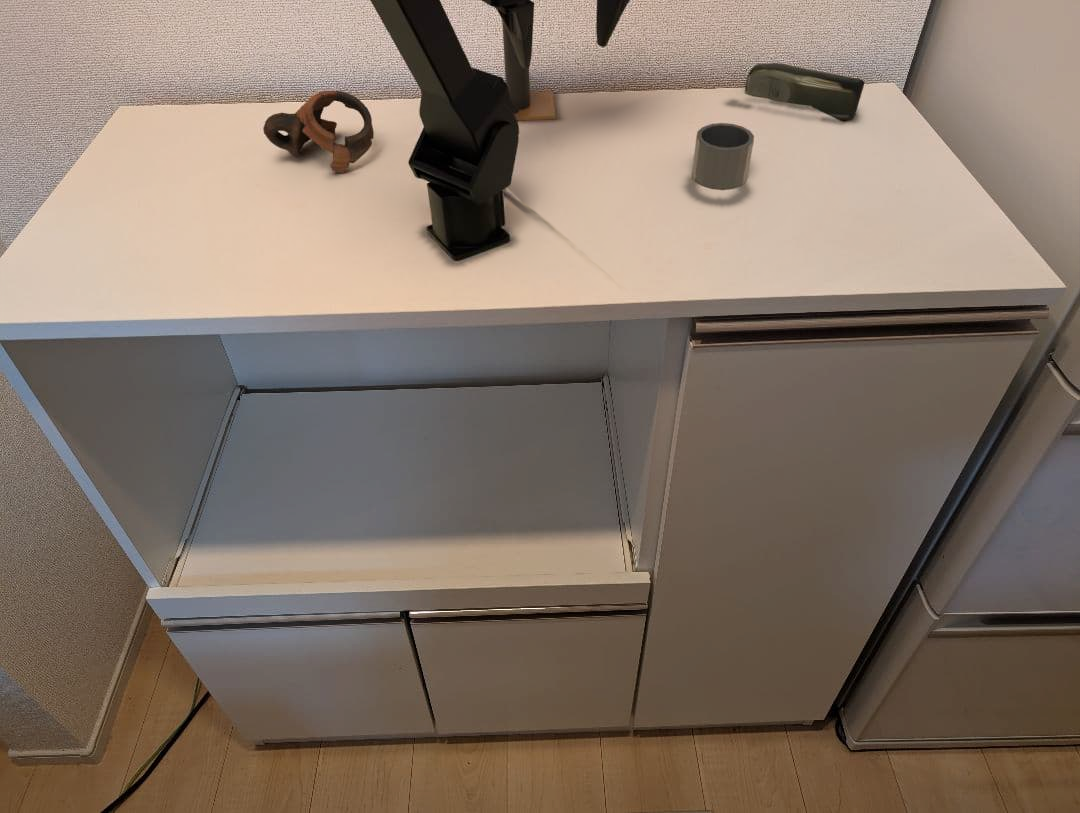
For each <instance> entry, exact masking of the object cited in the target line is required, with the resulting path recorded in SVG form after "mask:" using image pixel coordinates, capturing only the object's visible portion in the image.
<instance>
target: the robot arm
mask: <svg viewBox="0 0 1080 813" xmlns="http://www.w3.org/2000/svg"><path fill="white" fill-rule="evenodd" d="M369 1H370V3H371V5H372V6H373V8H374V10H375V11H376V13H377V15H378V17H379V18H380V20H381V22H382V24H383V26H384V27H385V29H386V31H387V32H388V35H389V36H390V38H391V40H392V42H393V43H394V45H395V47H396V49H397V50H398V53H399V54H400V55H401V58H402V59H403V61H404V63H405V64H406V67H407V68H408V70H409V71H410V73H411V75H412V77H413V79H414V81H415V83H416V84H417V86H418V88H419V90H420V92H421V93H420V102H419V108H418V113H419V118H420V121H421V123H422V125H423V128H422V130H421V132H420V134H419V137H418V139H417V141H416V143H415V146H414V148H413V150H412V152H411V155H410V157H409V159H408V162H407V164H408V166H409V168H410V170H411V171H412V174H413V175H414V177H415V178H417V179H419V180H420V179H421V180H423V181H426V182H427V183H426V188H427V195H428V203H429V209H430V218H431V224H429V225H427V226H426V233H427V234H428V235H429V236H431V238H432V239H433V240H434V241H435V242H436V243H437V244H438V245H439V246H440V247H441V249H443V250H444V252H445V253H446V254H447V255H448V256H449V257H450V258H451V259H453V260H454V261H457V260H458V261H459V260H461V259H464V258H467V257H469V256H472V255H475V254H478V253H480V252H483V251H486V250H488V249H491V248H494V247H496V246H499V245H502V244H504V243H507V242H509V241H511V234H510V233H509V232H508V231H507V230H506V229H504V228H503V227H505V225H506V212H505V211H506V210H505V195H504V193H505V192H504V190H506V189H507V188H508V187H511V185H512V179H513V175H514V168H515V163H516V157H517V153H518V146H519V141H520V140H519V138H520V125H519V122H518V120H517V118H516V116H515V114H516V113H518V112H519V109H518V108H517V107H516V106H515V105H514V104H513V102H512V100H511V98H510V94H509V90H508V87H507V84H506V81H505V80H504V78H503V77H502V76H499V75H496V74H493V73H490V72H488V71H484V70H482V69H478V68H475V67H472V65H471V63H470V61H469V59H468V57H467V55H466V53H465V50H464V48H463V46H462V44H461V41H459V38H458V36H457V34H456V31H455V29H454V27H453V25H452V22H451V21H450V19H449V17H448V14H447V12H446V9H445V8H444V6H443V4H442V2H441V0H369ZM480 1H482V2H483V3H484V4H486V5H489V6H490V7H493V8H494V9H496V11H497V13H498V15H499V17H500V18H501V21H502V20H503V22H504V24H505V26H506V29H507V31H508V34H509V36H510V39H511V42H512V44H513V47H514V49H515V52H516V54H517V57H518V59H519V62H520V64H521V66H522V67H524V68H525V69H528V68H529V69H530V66H531V61H532V56H533V40H534V39H533V37H534V36H533V35H534V18H535V15H534V14H535V1H532V0H480ZM630 2H631V0H596V17H595V18H596V19H595V32H596V43H597V45H598V46H599V47H601V48H606V46H607V45H608V44H609V41H610V39H611V37H612V35H613V33H614V31H615V29H616V27H617V26H618V23H619V21H620V20H621V17H622V15H623V13H624V11H625V9H626V8H627V6H628V4H629V3H630Z"/></svg>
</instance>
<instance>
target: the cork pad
mask: <svg viewBox="0 0 1080 813" xmlns="http://www.w3.org/2000/svg"><path fill="white" fill-rule="evenodd" d="M515 116H516V118H517V121H533V120H534V121H536V120H555V119H556V118H557V116H556V108H555V100H554V92H553V91H536V92H535V91H533V92H531V91H530V106H529V107H528V108H526V109H523V110H519V112H518V113H516V114H515Z"/></svg>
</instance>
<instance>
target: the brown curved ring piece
mask: <svg viewBox="0 0 1080 813" xmlns="http://www.w3.org/2000/svg"><path fill="white" fill-rule="evenodd" d="M334 102H338V103H341V104H343V105H344V107H345V108H348V109H352V110H354V111H357V112H358V113H359V114H360V116H361V118H362V120H363V127H362V128H361V130H360V131H358V132H357V133H355V134H352V135H345V136H344V144H341V143H338V142H336V141H335V137H336V128H337V126H338V123H337V122H336V121H332V120H327V119H324V118H322V114H323V111H324V109H325V108H327V107H329V106H331V104H332V103H334ZM262 128H263V129H262V130H263V133H264V135H265V136H266V138H267V140H268V141H269V142H270V143H271V144H273V145H274V146H275V147H277V148H279V149H282V150H285V151H287V152H288V153H290V155H291V156H292V157H293V158H295V159H298V158H299V157H300V153H301V151H302V149H303V148H304V145H305V144H306V143H308V142H309V141H310V140H311V141H312V142H314V143H316V145H318V146H319V147H320V148H322V149H323V150H325V151H327V152H328V153H330V154H332V162H331V164H330V169H331V171H332V172H335V173H340V174H343V173H346V171H347V169H349V168H350V164H354V163H356V162H357V161H359V160H360V159H361V158H362V157H363V156H364V155H365V154H366V153H367V152H368V151H369V149H370V148H371V147H372V145H373V141H372V140H373V139H374V137H375V136H374V135H375V134H374V132H375V131H374V128H373V119H372V114H371V112H370V110H369V108H368V107H367V106H366V105H365V104H364V103H363V101H361V100H360V99H359V98H358V97H356V96H355V95H353V94H350V93H348V92H345V91H340V90H322V91H319V92H318V93H314V94H313V95H312V96H311V97H310V98H309V99H308V100H307V101H306V102H305V103H304V104H303V105H301V106H300V107H299V109H298V110H296V111H295V113H288V112H286V113H285V112H278V113H274V114H272V115H270V116H268V117H267V119H266V120H265V122H264V124H263V127H262ZM281 132H285V133H287V134H286V135H284V134H283V133H281Z"/></svg>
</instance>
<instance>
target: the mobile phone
mask: <svg viewBox="0 0 1080 813" xmlns="http://www.w3.org/2000/svg"><path fill="white" fill-rule="evenodd" d="M744 87H745V89H744V94H745V95H747V96H750V97H754V98H762V99H767V100H769V101H770V100H771V101H774V102H778V103H784V104H792V105H799V106H806V107H811V108H813V109H815V110H817V111H819V112H821V113H823V114H825V115H828V116H830V117H831V118H833V119H835V120H837V121H847V120H851V119H853V118H854V117H855V115H856V114H857V111H858V108H859V103H860V102H861V101H860V100H861V98H862V94H863V90H864V87H865V81H864V80H863V79H860V78H857V77H852V76H846V75H840V74H835V73H832V72H826V71H821V70H816V69H809V68H804V67H802V66H801V67H800V66H796V65H791V64H787V63H780V62H772V63H757V64H755V65H753V66H752V68H751V69H750V71H748V74H747V77H746V80H745V86H744Z"/></svg>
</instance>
